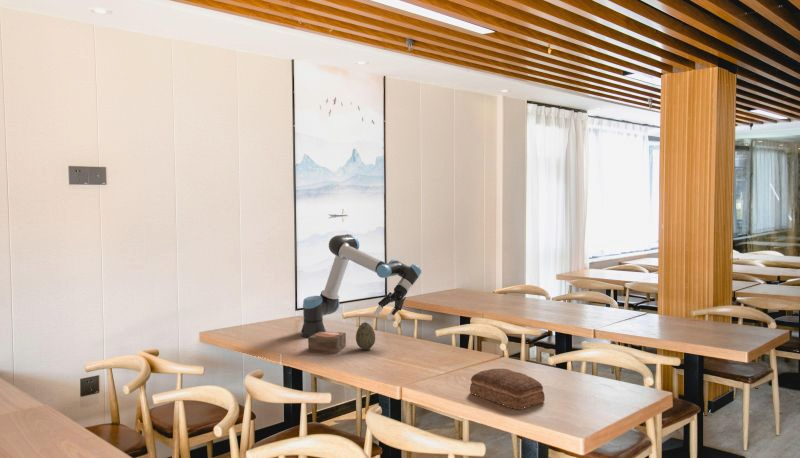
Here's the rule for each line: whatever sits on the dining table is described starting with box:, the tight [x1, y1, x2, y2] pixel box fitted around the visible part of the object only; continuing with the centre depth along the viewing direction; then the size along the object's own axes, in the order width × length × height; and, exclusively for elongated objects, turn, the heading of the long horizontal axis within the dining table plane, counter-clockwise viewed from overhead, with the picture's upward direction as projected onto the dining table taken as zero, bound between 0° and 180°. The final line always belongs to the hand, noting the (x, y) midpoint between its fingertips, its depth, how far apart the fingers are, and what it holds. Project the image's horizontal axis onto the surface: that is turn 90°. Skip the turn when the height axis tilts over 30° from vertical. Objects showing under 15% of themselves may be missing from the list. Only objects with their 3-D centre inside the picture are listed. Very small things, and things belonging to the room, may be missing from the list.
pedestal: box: [307, 331, 347, 354], centre depth 354 cm, size 16×16×8 cm
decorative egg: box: [355, 321, 376, 351], centre depth 353 cm, size 11×11×15 cm
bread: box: [469, 368, 546, 410], centre depth 263 cm, size 17×29×11 cm, turn 35°
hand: (381, 317), depth 358 cm, fingers open, 13 cm apart
